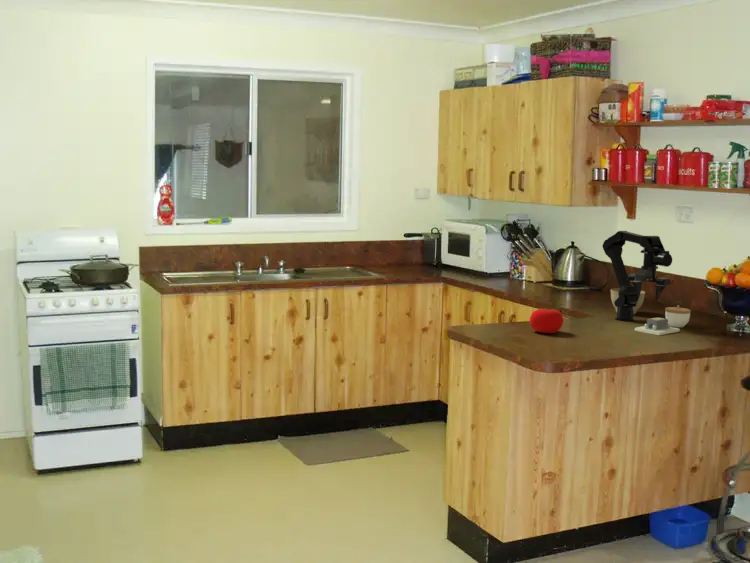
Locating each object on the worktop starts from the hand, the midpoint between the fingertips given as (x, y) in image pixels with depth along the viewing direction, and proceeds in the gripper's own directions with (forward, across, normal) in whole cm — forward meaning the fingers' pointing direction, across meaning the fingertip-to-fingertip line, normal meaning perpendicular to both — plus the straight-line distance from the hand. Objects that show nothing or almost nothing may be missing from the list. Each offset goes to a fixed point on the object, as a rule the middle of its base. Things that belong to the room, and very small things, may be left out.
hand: (647, 298), depth 407 cm
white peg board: (+12, +11, -8) cm, 18 cm away
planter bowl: (+12, -24, +21) cm, 34 cm away
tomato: (+12, -13, -54) cm, 57 cm away
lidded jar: (+12, +9, +11) cm, 19 cm away
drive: (+11, +11, -8) cm, 17 cm away
